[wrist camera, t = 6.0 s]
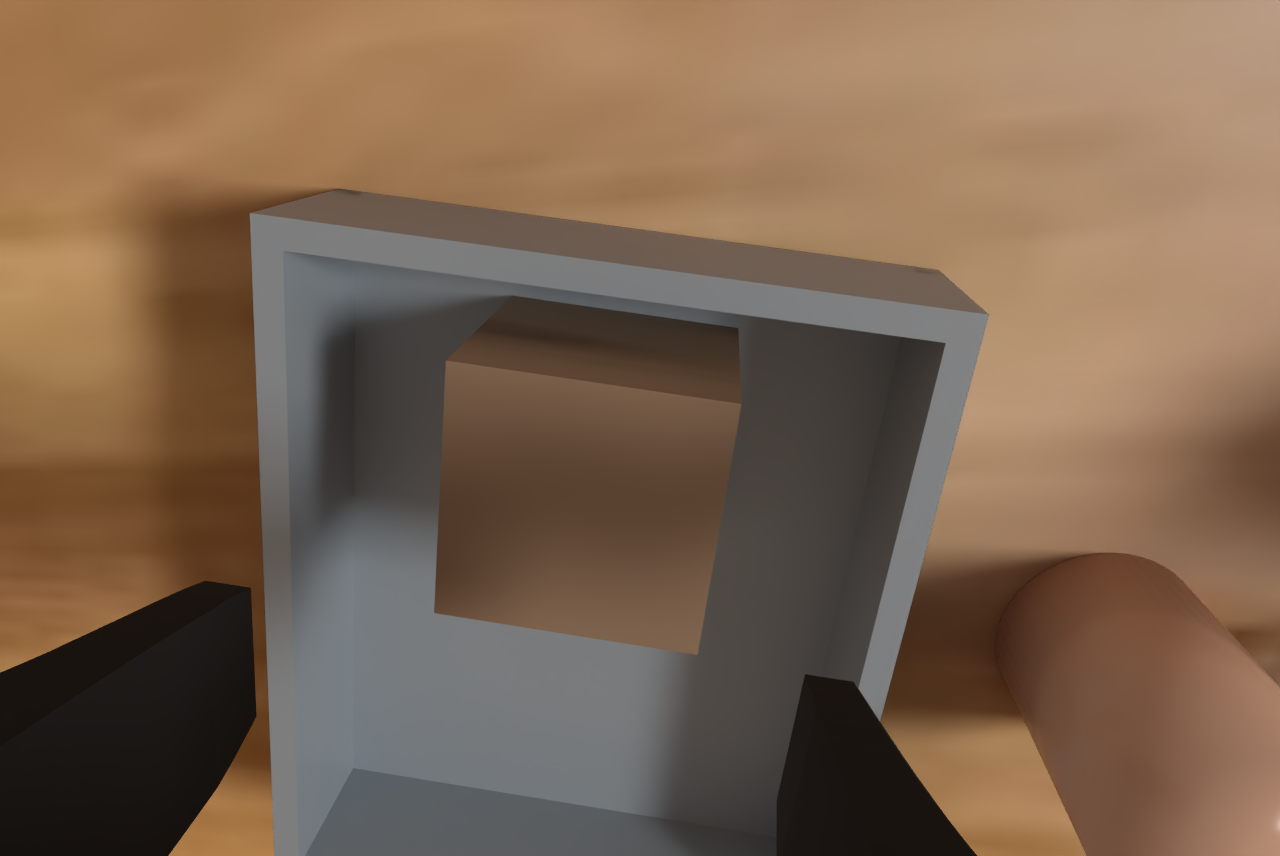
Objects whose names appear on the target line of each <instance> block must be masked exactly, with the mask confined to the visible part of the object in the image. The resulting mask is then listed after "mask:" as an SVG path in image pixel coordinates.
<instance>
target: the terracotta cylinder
mask: <svg viewBox="0 0 1280 856" xmlns="http://www.w3.org/2000/svg"><path fill="white" fill-rule="evenodd" d="M996 656H997V660H998V664H999V667H1000V670H1001V672H1002V674H1003V676H1004V679H1005V681H1006V683H1007V685H1008V687H1009V689H1010V692H1011V694H1012V696H1013V698H1014V700H1015V702H1016V704H1017V707H1018V709H1019V711H1020V713H1021V715H1022V717H1023V719H1024V722H1025V724H1026V726H1027V728H1028V730H1029V732H1030V734H1031V737H1032V739H1033V741H1034V743H1035V745H1036V747H1037V750H1038V752H1039V754H1040V756H1041V758H1042V760H1043V762H1044V765H1045V767H1046V769H1047V771H1048V773H1049V775H1050V777H1051V780H1052V782H1053V784H1054V786H1055V788H1056V790H1057V792H1058V795H1059V797H1060V799H1061V801H1062V803H1063V805H1064V807H1065V810H1066V812H1067V814H1068V816H1069V818H1070V820H1071V823H1072V825H1073V827H1074V829H1075V831H1076V833H1077V835H1078V838H1079V840H1080V842H1081V844H1082V846H1083V848H1084V850H1085V853H1086V855H1087V856H1280V687H1279V686H1278V685H1277V684H1276V683H1275V681H1274V680H1273V679H1272V678H1271V677H1270V676H1269V675H1268V674H1267V673H1266V672H1265V671H1264V669H1263V668H1262V667H1261V666H1260V665H1259V664H1258V663H1257V662H1256V661H1255V660H1254V658H1253V657H1252V656H1251V655H1250V654H1249V653H1248V652H1247V651H1246V650H1245V649H1244V648H1243V646H1242V645H1241V644H1240V643H1239V642H1238V641H1237V640H1236V639H1235V638H1234V637H1233V636H1232V634H1231V633H1230V632H1229V631H1228V630H1227V629H1226V628H1225V627H1224V626H1223V625H1222V624H1221V622H1220V621H1219V620H1218V619H1217V618H1216V617H1215V616H1214V615H1213V614H1212V613H1211V612H1210V610H1209V609H1208V608H1207V607H1206V606H1205V605H1204V604H1203V603H1202V602H1201V601H1200V600H1199V598H1198V597H1197V596H1196V595H1195V594H1194V593H1193V592H1192V591H1191V590H1190V589H1189V587H1188V586H1187V585H1186V584H1185V583H1184V582H1183V581H1182V580H1181V579H1180V578H1179V577H1178V576H1176V575H1175V574H1174V573H1173V572H1171V571H1170V570H1168V569H1167V568H1165V567H1164V566H1162V565H1160V564H1158V563H1156V562H1154V561H1151V560H1148V559H1145V558H1142V557H1139V556H1134V555H1129V554H1120V553H1098V554H1091V555H1085V556H1080V557H1076V558H1072V559H1069V560H1067V561H1064V562H1061V563H1059V564H1057V565H1054V566H1052V567H1050V568H1048V569H1046V570H1045V571H1043V572H1042V573H1040V574H1038V575H1037V576H1035V577H1034V578H1033V579H1032V580H1030V581H1029V582H1028V583H1027V584H1025V585H1024V586H1023V587H1022V588H1021V589H1020V590H1019V591H1018V592H1017V594H1016V595H1015V596H1014V597H1013V599H1012V600H1011V601H1010V603H1009V604H1008V606H1007V608H1006V609H1005V611H1004V613H1003V615H1002V618H1001V620H1000V623H999V626H998V630H997V635H996Z"/></svg>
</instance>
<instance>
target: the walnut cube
mask: <svg viewBox="0 0 1280 856" xmlns="http://www.w3.org/2000/svg"><path fill="white" fill-rule="evenodd" d="M741 404H742V403H741V380H740V357H739V334H738V328H735V327H728V326H721V325H714V324H707V323H700V322H693V321H686V320H679V319H672V318H666V317H659V316H652V315H645V314H638V313H631V312H624V311H617V310H610V309H603V308H596V307H589V306H582V305H575V304H568V303H561V302H554V301H548V300H541V299H534V298H527V297H520V296H513V295H512V296H511V297H510V298H509V299H508V300H507V301H506V302H505V303H504V304H503V305H502V306H501V307H500V308H499V309H498V310H497V311H496V312H495V313H494V314H493V315H492V316H491V317H490V318H489V319H488V320H487V321H486V322H484V323H483V324H482V325H481V326H480V327H479V328H478V329H477V330H476V331H475V332H474V333H473V334H472V335H471V336H470V337H469V338H468V339H467V340H466V341H465V342H464V343H463V344H462V345H461V346H460V347H459V348H458V349H457V350H456V351H455V352H454V353H453V354H452V355H451V356H450V357H449V358H448V359H447V360H446V368H445V389H444V410H443V432H442V453H441V474H440V496H439V517H438V538H437V560H436V581H435V602H434V613H436V614H442V615H449V616H455V617H461V618H468V619H474V620H480V621H487V622H493V623H499V624H505V625H512V626H518V627H524V628H531V629H537V630H543V631H549V632H556V633H562V634H568V635H575V636H581V637H587V638H594V639H600V640H606V641H612V642H619V643H625V644H631V645H638V646H644V647H650V648H657V649H663V650H669V651H675V652H682V653H688V654H694V655H698V649H699V643H700V637H701V632H702V626H703V620H704V615H705V609H706V603H707V598H708V592H709V586H710V581H711V575H712V569H713V564H714V558H715V552H716V547H717V541H718V535H719V529H720V524H721V518H722V512H723V507H724V501H725V495H726V490H727V484H728V478H729V473H730V467H731V461H732V456H733V450H734V444H735V439H736V433H737V427H738V421H739V416H740V410H741Z"/></svg>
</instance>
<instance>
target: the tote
mask: <svg viewBox="0 0 1280 856" xmlns="http://www.w3.org/2000/svg"><path fill="white" fill-rule="evenodd" d="M250 234H251V259H252V285H253V311H254V337H255V363H256V389H257V415H258V441H259V467H260V493H261V519H262V545H263V571H264V596H265V622H266V648H267V674H268V700H269V726H270V752H271V778H272V804H273V830H274V856H777V848H776V826H777V796H778V792H779V787H780V783H781V778H782V774H783V770H784V765H785V761H786V756H787V752H788V747H789V743H790V738H791V734H792V729H793V725H794V721H795V716H796V712H797V707H798V703H799V698H800V694H801V689H802V685H803V681H804V676H805V674H807V675H814V676H820V677H827V678H833V679H840V680H846V681H852V682H854V683H855V685H856V686H857V687H858V689H859V690H860V692H861V693H862V695H863V696H864V698H865V699H866V701H867V702H868V704H869V705H870V707H871V709H872V710H873V712H874V713H875V715H876V716H877V718H878V719H879V721H880V719H881V716H882V712H883V708H884V705H885V701H886V697H887V693H888V690H889V686H890V682H891V678H892V675H893V671H894V667H895V663H896V660H897V656H898V652H899V649H900V645H901V641H902V637H903V634H904V630H905V626H906V622H907V619H908V615H909V611H910V607H911V604H912V600H913V596H914V593H915V589H916V585H917V581H918V578H919V574H920V570H921V566H922V563H923V559H924V555H925V552H926V548H927V544H928V540H929V537H930V533H931V529H932V525H933V522H934V518H935V514H936V510H937V507H938V503H939V499H940V496H941V492H942V488H943V484H944V481H945V477H946V473H947V469H948V466H949V462H950V458H951V454H952V451H953V447H954V443H955V440H956V436H957V432H958V428H959V425H960V421H961V417H962V413H963V410H964V406H965V402H966V398H967V395H968V391H969V387H970V384H971V380H972V376H973V372H974V369H975V365H976V361H977V357H978V354H979V350H980V346H981V343H982V339H983V335H984V331H985V328H986V324H987V320H988V316H989V314H988V313H987V312H985V311H984V310H983V309H982V308H981V307H980V306H979V305H977V304H976V303H975V302H974V301H973V300H972V299H971V298H970V297H968V296H967V295H966V294H965V293H964V292H963V291H962V290H961V289H959V288H958V287H957V286H956V285H955V284H954V283H953V282H951V281H950V280H949V279H948V278H947V277H946V276H945V275H944V274H942V273H941V272H940V271H939V270H933V269H926V268H919V267H911V266H904V265H897V264H889V263H882V262H875V261H867V260H860V259H852V258H845V257H838V256H830V255H823V254H816V253H808V252H801V251H794V250H786V249H779V248H771V247H764V246H757V245H749V244H742V243H735V242H727V241H720V240H713V239H705V238H698V237H690V236H683V235H676V234H668V233H661V232H654V231H646V230H639V229H632V228H624V227H617V226H609V225H602V224H595V223H587V222H580V221H573V220H565V219H558V218H551V217H543V216H536V215H529V214H521V213H514V212H506V211H499V210H492V209H484V208H477V207H470V206H462V205H455V204H448V203H440V202H433V201H425V200H418V199H411V198H403V197H396V196H389V195H381V194H374V193H367V192H359V191H352V190H344V189H336V190H333V191H329V192H325V193H322V194H318V195H314V196H311V197H307V198H303V199H299V200H296V201H292V202H288V203H285V204H281V205H277V206H274V207H270V208H266V209H263V210H259V211H255V212H251V213H250ZM512 295H513V296H520V297H527V298H534V299H541V300H548V301H554V302H561V303H568V304H575V305H582V306H589V307H596V308H603V309H610V310H617V311H624V312H631V313H638V314H645V315H652V316H659V317H666V318H672V319H679V320H686V321H693V322H700V323H707V324H714V325H721V326H728V327H735V328H738V334H739V357H740V380H741V403H742V404H741V410H740V416H739V421H738V427H737V433H736V439H735V444H734V450H733V456H732V461H731V467H730V473H729V478H728V484H727V490H726V495H725V501H724V507H723V512H722V518H721V524H720V529H719V535H718V541H717V547H716V552H715V558H714V564H713V569H712V575H711V581H710V586H709V592H708V598H707V603H706V609H705V615H704V620H703V626H702V632H701V637H700V643H699V649H698V655H694V654H688V653H682V652H675V651H669V650H663V649H657V648H650V647H644V646H638V645H631V644H625V643H619V642H612V641H606V640H600V639H594V638H587V637H581V636H575V635H568V634H562V633H556V632H549V631H543V630H537V629H531V628H524V627H518V626H512V625H505V624H499V623H493V622H487V621H480V620H474V619H468V618H461V617H455V616H449V615H442V614H436V613H434V602H435V581H436V560H437V538H438V517H439V496H440V474H441V453H442V432H443V410H444V389H445V368H446V360H447V359H448V358H449V357H450V356H451V355H452V354H453V353H454V352H455V351H456V350H457V349H458V348H459V347H460V346H461V345H462V344H463V343H464V342H465V341H466V340H467V339H468V338H469V337H470V336H471V335H472V334H473V333H474V332H475V331H476V330H477V329H478V328H479V327H480V326H481V325H482V324H483V323H484V322H486V321H487V320H488V319H489V318H490V317H491V316H492V315H493V314H494V313H495V312H496V311H497V310H498V309H499V308H500V307H501V306H502V305H503V304H504V303H505V302H506V301H507V300H508V299H509V298H510V297H511V296H512Z"/></svg>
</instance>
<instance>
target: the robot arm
mask: <svg viewBox="0 0 1280 856" xmlns="http://www.w3.org/2000/svg"><path fill="white" fill-rule="evenodd" d="M255 718H256V696H255V674H254V651H253V629H252V606H251V588H248V587H241V586H235V585H228V584H222V583H216V582H209V581H204V582H201V583H199V584H196V585H193V586H191V587H188V588H186V589H184V590H181V591H179V592H177V593H174V594H172V595H170V596H168V597H165V598H163V599H161V600H159V601H157V602H154V603H152V604H150V605H148V606H146V607H144V608H142V609H139V610H137V611H135V612H133V613H131V614H129V615H127V616H125V617H122V618H120V619H118V620H116V621H114V622H112V623H110V624H108V625H105V626H103V627H101V628H99V629H97V630H95V631H93V632H90V633H88V634H86V635H84V636H82V637H80V638H78V639H75V640H73V641H71V642H69V643H67V644H65V645H62V646H60V647H58V648H56V649H54V650H52V651H50V652H47V653H45V654H43V655H41V656H38V657H36V658H34V659H31V660H29V661H27V662H24V663H22V664H20V665H17V666H15V667H13V668H10V669H8V670H6V671H3V672H1V673H0V856H168V855H169V854H170V853H171V851H172V850H173V848H174V847H175V846H176V844H177V843H178V842H179V840H180V839H181V837H182V836H183V835H184V833H185V832H186V831H187V829H188V828H189V826H190V825H191V824H192V822H193V821H194V819H195V818H196V817H197V815H198V814H199V813H200V811H201V810H202V808H203V807H204V806H205V804H206V803H207V801H208V800H209V799H210V797H211V796H212V794H213V793H214V791H215V790H216V789H217V787H218V786H219V784H220V782H221V780H222V779H223V777H224V775H225V773H226V772H227V770H228V768H229V766H230V765H231V763H232V761H233V759H234V758H235V756H236V754H237V752H238V750H239V748H240V746H241V745H242V743H243V741H244V739H245V737H246V735H247V733H248V731H249V729H250V727H251V726H252V724H253V722H254V720H255ZM776 848H777V856H977V855H976V854H975V853H974V851H973V850H972V849H971V848H970V847H969V845H968V844H967V843H966V842H965V840H964V839H963V838H962V837H961V835H960V834H959V833H958V832H957V830H956V829H955V828H954V826H953V825H952V824H951V822H950V821H949V820H948V819H947V817H946V816H945V814H944V813H943V812H942V810H941V809H940V808H939V806H938V805H937V803H936V802H935V801H934V799H933V798H932V797H931V795H930V794H929V792H928V791H927V790H926V788H925V787H924V786H923V784H922V783H921V781H920V780H919V779H918V777H917V776H916V774H915V773H914V772H913V770H912V769H911V767H910V766H909V764H908V763H907V761H906V760H905V759H904V757H903V756H902V754H901V753H900V751H899V750H898V748H897V747H896V745H895V744H894V742H893V741H892V739H891V738H890V736H889V735H888V733H887V732H886V730H885V728H884V727H883V725H882V724H881V722H880V721H879V719H878V718H877V716H876V715H875V713H874V712H873V710H872V709H871V707H870V705H869V704H868V702H867V701H866V699H865V698H864V696H863V695H862V693H861V692H860V690H859V689H858V687H857V686H856V685H855V683H854V682H852V681H846V680H840V679H833V678H827V677H820V676H814V675H807V674H805V676H804V681H803V685H802V689H801V694H800V698H799V703H798V707H797V712H796V716H795V721H794V725H793V729H792V734H791V738H790V743H789V747H788V752H787V756H786V761H785V765H784V770H783V774H782V778H781V783H780V787H779V792H778V796H777V826H776Z"/></svg>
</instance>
